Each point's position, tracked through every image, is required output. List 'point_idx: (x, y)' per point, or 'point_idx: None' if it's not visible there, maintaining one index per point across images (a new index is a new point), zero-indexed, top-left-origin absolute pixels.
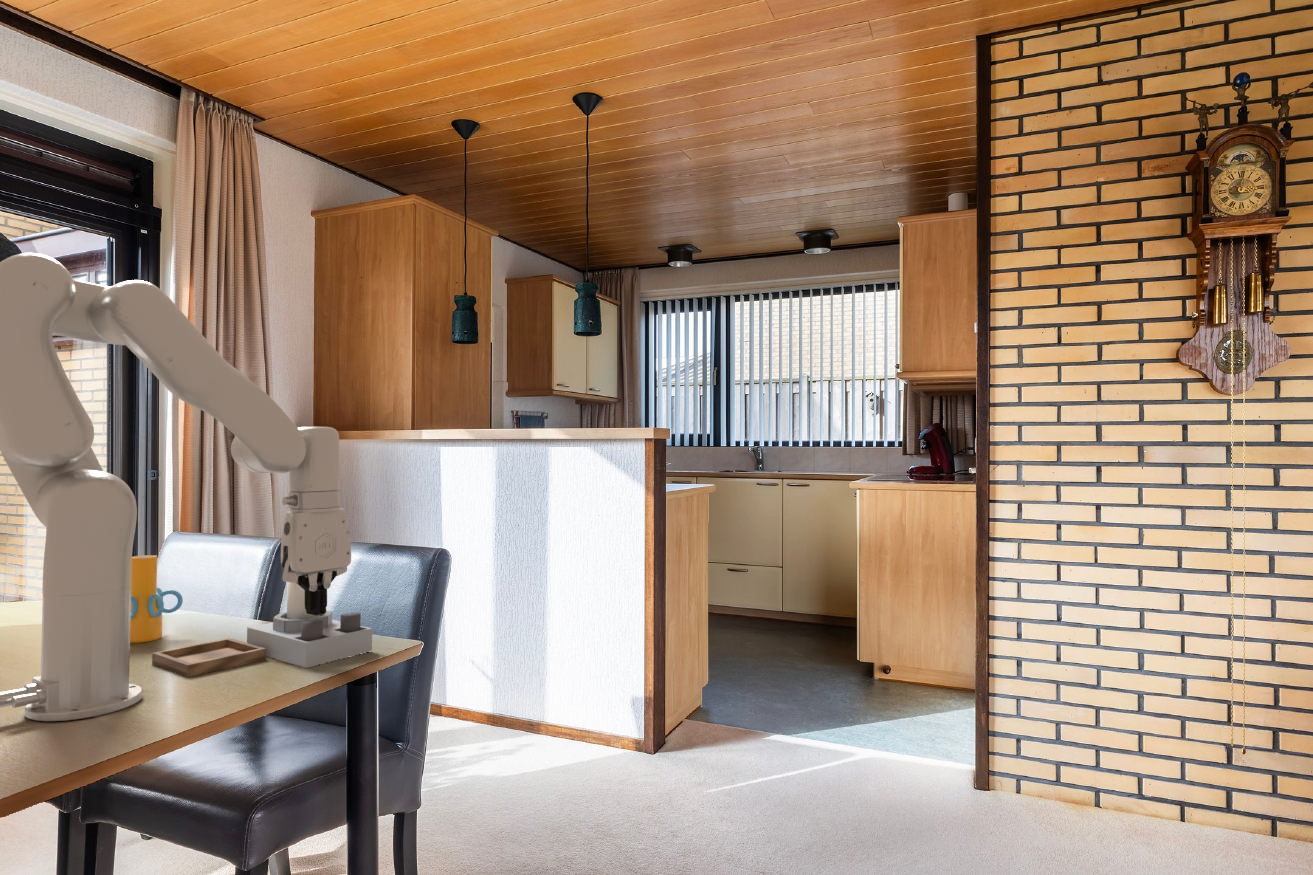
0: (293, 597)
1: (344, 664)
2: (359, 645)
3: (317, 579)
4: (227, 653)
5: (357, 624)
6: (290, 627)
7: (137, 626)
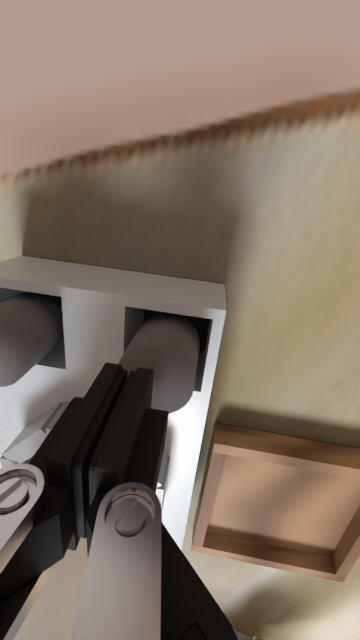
0: None
1: (144, 216)
2: (45, 268)
3: (19, 602)
4: (240, 499)
5: (1, 305)
6: None
7: None
